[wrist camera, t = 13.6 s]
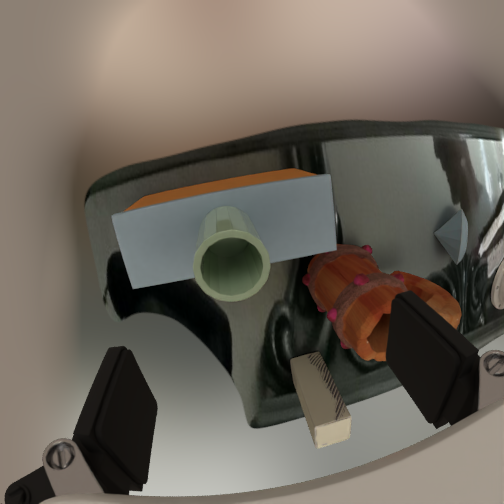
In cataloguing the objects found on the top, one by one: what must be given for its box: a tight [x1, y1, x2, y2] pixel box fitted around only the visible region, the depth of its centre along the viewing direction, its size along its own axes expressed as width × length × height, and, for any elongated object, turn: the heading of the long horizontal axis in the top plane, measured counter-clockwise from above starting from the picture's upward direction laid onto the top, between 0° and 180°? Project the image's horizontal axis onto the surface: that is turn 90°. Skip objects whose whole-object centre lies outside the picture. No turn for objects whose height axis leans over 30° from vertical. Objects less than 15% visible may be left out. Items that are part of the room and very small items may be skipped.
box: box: [290, 352, 351, 448], centre depth 34 cm, size 5×4×13 cm
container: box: [111, 168, 337, 289], centre depth 26 cm, size 16×6×10 cm, turn 99°
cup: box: [193, 206, 271, 302], centre depth 18 cm, size 4×4×6 cm
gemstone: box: [434, 209, 468, 264], centre depth 34 cm, size 8×8×5 cm
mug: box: [302, 244, 462, 361], centre depth 28 cm, size 15×8×15 cm, turn 87°
